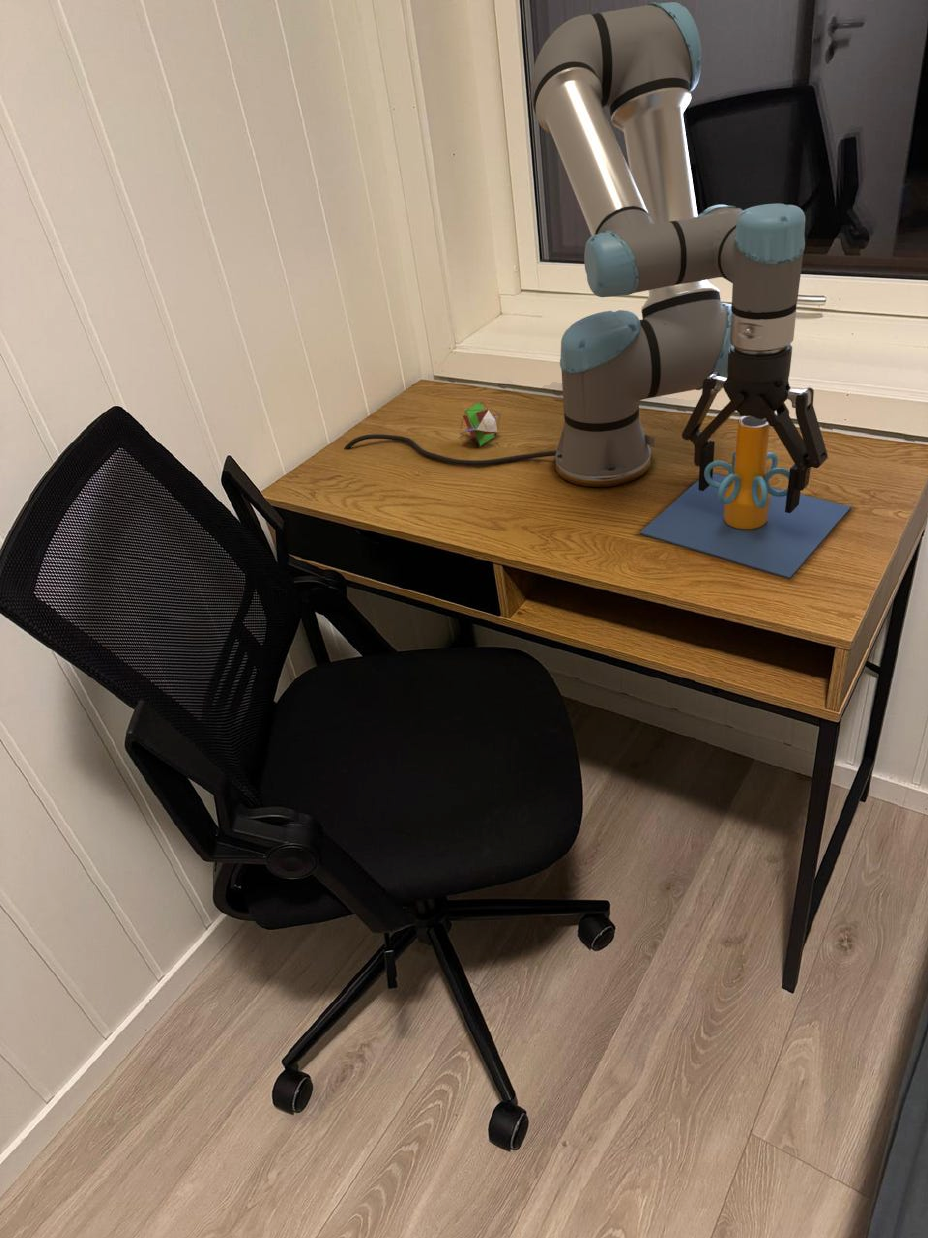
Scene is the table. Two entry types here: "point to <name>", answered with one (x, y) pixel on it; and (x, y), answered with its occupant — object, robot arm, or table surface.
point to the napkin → (762, 548)
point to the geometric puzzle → (480, 423)
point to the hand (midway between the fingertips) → (747, 497)
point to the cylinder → (748, 476)
